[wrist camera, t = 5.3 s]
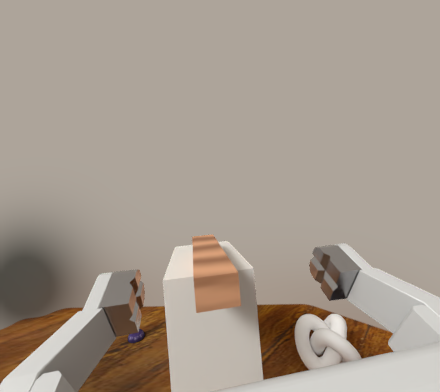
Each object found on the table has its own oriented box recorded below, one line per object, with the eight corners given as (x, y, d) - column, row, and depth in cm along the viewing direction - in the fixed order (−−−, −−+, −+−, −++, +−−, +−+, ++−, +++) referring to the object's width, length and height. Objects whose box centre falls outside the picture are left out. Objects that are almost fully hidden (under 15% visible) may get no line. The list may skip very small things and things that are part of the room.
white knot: (303, 336, 51) (299, 300, 51) (361, 351, 45) (357, 310, 45) (293, 371, 41) (289, 326, 41) (366, 396, 35) (361, 343, 35)
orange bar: (241, 305, 18) (238, 272, 18) (196, 313, 18) (193, 278, 18) (214, 249, 40) (212, 234, 40) (193, 252, 39) (192, 236, 40)
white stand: (270, 464, 27) (253, 268, 28) (179, 489, 25) (162, 280, 26) (237, 353, 47) (227, 240, 47) (184, 364, 45) (175, 246, 46)
